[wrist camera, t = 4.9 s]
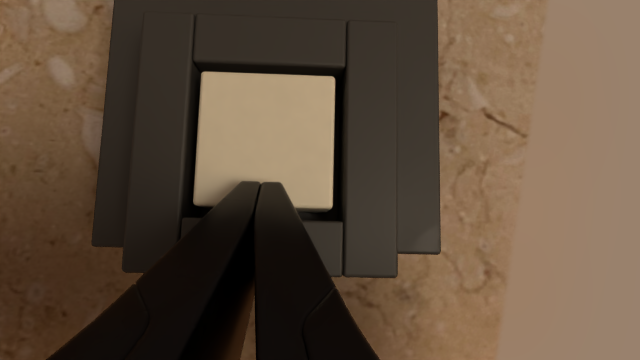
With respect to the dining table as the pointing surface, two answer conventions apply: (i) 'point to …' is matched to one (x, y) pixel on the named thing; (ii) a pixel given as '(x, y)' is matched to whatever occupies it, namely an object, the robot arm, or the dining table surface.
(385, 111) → the block low
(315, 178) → the key low
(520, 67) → the dining table surface
